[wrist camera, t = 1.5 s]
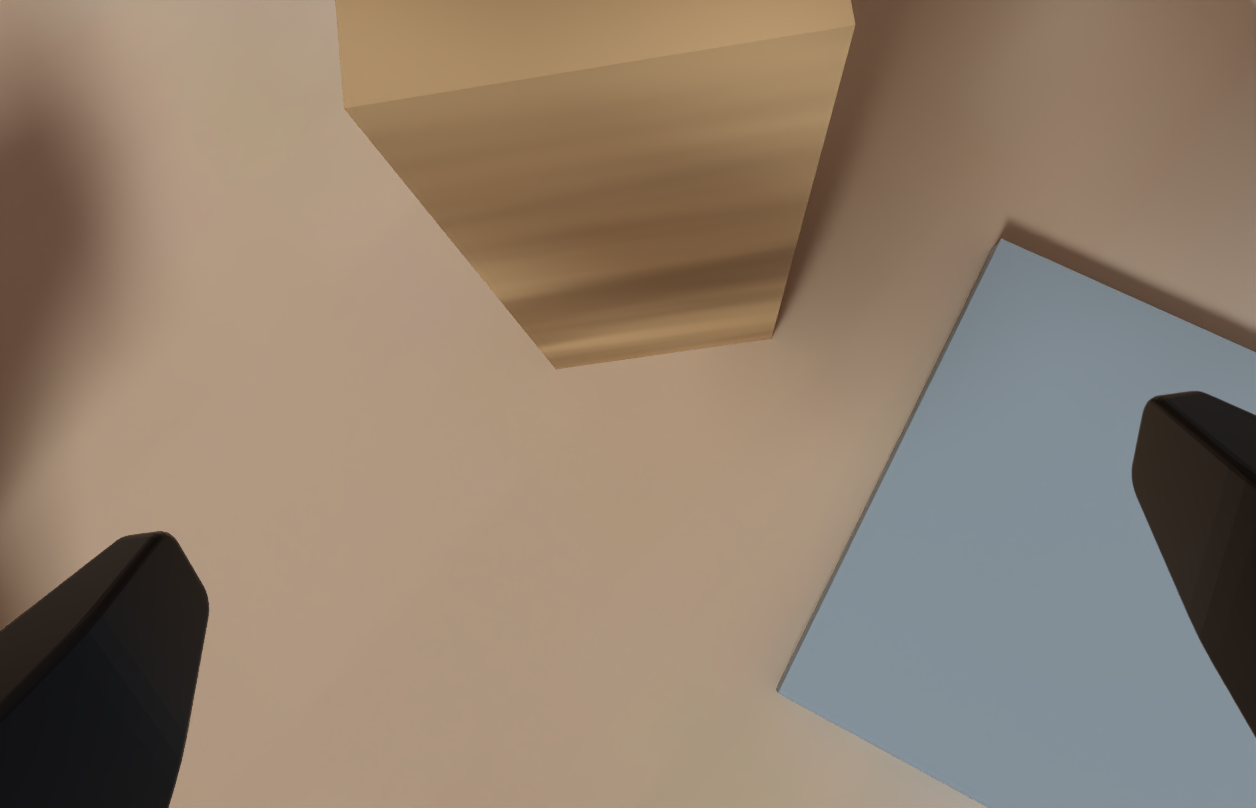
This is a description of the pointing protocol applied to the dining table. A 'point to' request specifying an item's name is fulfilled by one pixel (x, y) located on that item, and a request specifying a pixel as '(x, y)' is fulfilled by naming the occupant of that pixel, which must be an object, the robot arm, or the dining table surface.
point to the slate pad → (1033, 566)
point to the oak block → (607, 153)
